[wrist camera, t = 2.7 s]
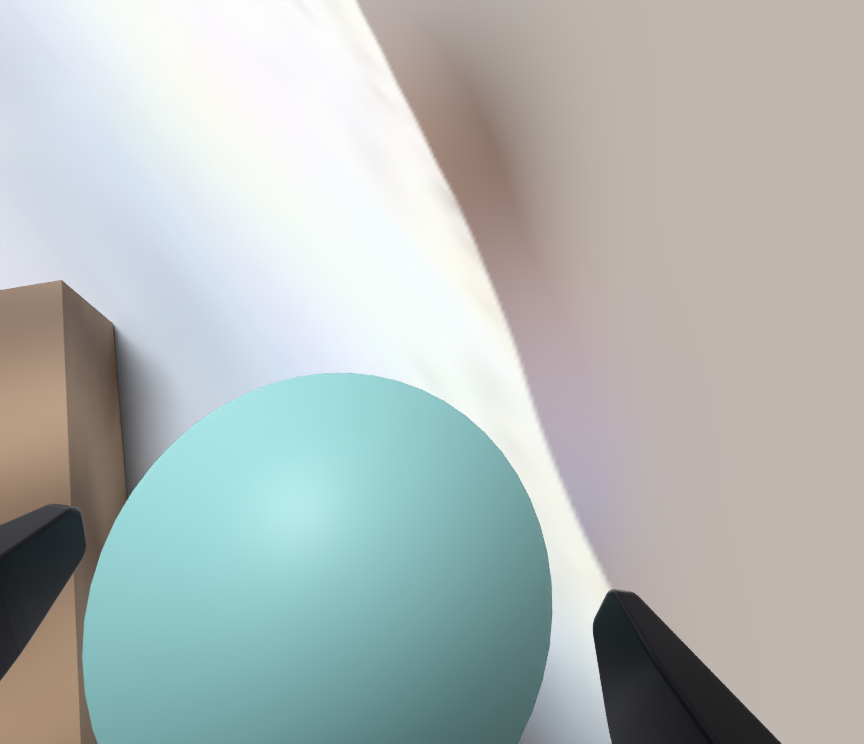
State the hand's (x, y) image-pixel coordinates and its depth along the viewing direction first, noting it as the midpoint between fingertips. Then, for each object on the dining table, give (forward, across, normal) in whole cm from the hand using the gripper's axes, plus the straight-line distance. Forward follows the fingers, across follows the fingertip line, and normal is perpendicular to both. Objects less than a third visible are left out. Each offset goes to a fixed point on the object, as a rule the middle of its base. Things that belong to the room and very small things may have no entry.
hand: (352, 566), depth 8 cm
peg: (+6, 0, +6) cm, 8 cm away
